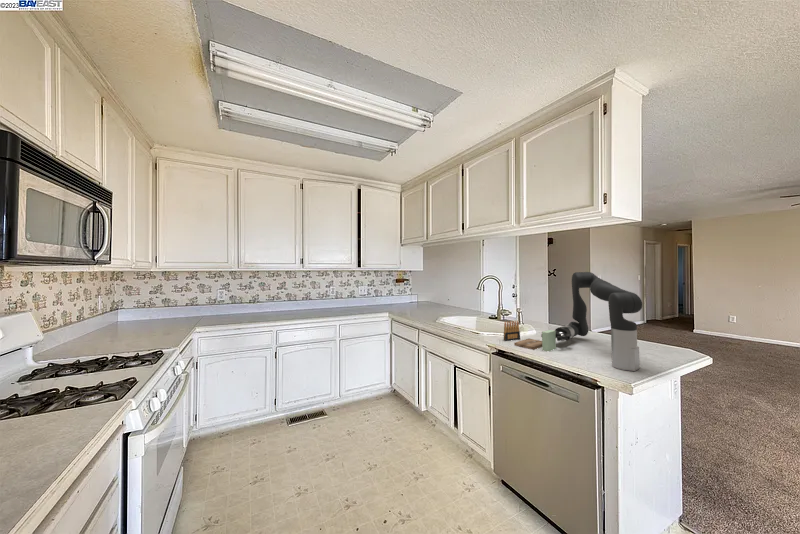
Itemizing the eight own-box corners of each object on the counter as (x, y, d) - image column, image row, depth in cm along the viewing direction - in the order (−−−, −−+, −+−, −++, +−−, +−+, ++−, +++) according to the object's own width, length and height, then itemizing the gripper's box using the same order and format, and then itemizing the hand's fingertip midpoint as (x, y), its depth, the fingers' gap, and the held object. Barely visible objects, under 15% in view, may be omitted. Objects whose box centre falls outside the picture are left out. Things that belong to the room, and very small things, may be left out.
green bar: (555, 348, 162) (555, 330, 162) (548, 351, 158) (547, 333, 158) (550, 347, 165) (549, 329, 165) (542, 350, 160) (541, 331, 160)
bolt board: (548, 344, 170) (548, 341, 170) (533, 349, 162) (533, 346, 162) (528, 340, 180) (528, 338, 180) (514, 345, 171) (514, 342, 171)
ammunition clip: (518, 338, 186) (517, 319, 186) (520, 339, 184) (519, 320, 184) (503, 340, 183) (502, 321, 183) (505, 341, 181) (504, 321, 181)
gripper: (552, 324, 177) (537, 328, 167) (577, 328, 165) (562, 332, 156) (552, 337, 177) (537, 341, 167) (577, 341, 165) (563, 347, 156)
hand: (549, 337), depth 162 cm, fingers open, 8 cm apart
